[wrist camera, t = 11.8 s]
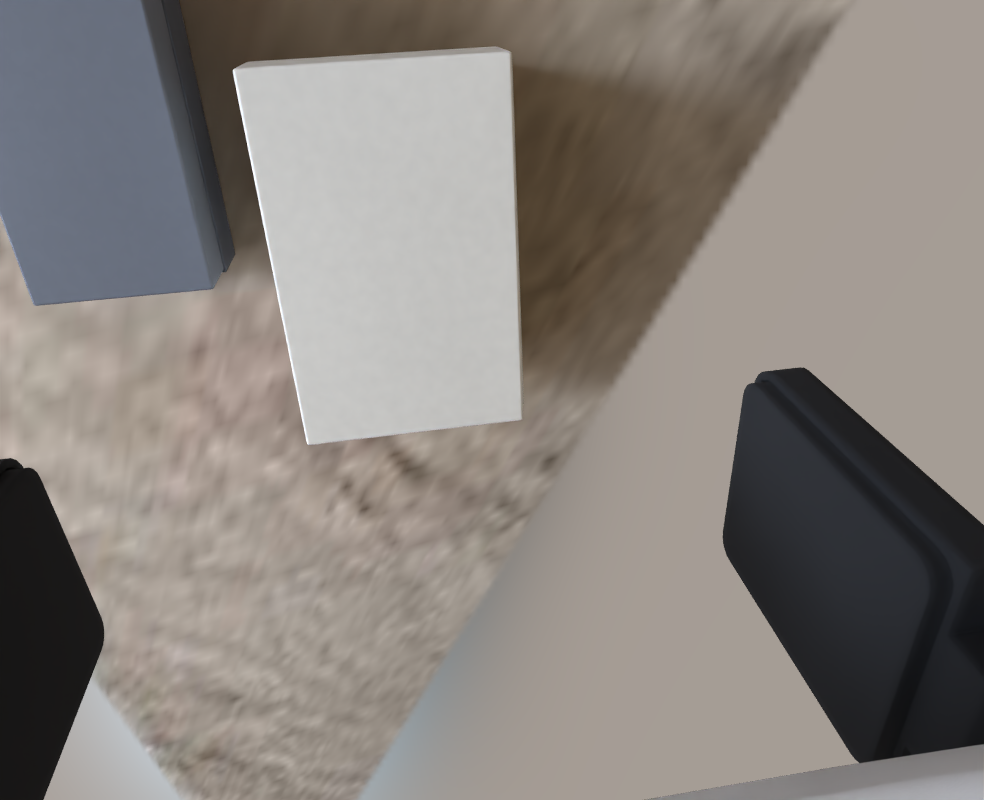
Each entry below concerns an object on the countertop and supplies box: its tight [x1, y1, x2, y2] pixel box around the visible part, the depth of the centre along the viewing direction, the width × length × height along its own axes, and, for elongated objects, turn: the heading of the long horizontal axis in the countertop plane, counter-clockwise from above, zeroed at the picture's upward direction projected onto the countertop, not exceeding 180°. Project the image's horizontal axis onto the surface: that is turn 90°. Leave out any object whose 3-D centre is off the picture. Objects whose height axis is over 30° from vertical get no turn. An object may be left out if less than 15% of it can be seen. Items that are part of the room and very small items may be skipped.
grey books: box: [0, 0, 235, 306], centre depth 22 cm, size 11×6×4 cm, turn 3°
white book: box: [233, 46, 523, 445], centre depth 22 cm, size 11×7×2 cm, turn 3°
